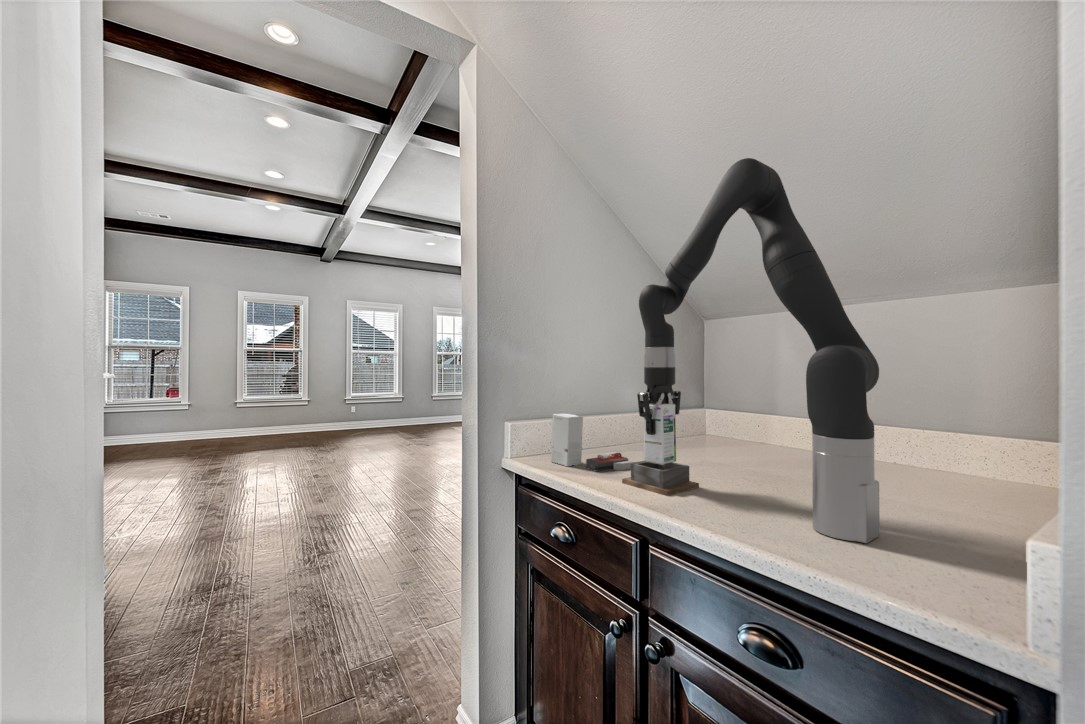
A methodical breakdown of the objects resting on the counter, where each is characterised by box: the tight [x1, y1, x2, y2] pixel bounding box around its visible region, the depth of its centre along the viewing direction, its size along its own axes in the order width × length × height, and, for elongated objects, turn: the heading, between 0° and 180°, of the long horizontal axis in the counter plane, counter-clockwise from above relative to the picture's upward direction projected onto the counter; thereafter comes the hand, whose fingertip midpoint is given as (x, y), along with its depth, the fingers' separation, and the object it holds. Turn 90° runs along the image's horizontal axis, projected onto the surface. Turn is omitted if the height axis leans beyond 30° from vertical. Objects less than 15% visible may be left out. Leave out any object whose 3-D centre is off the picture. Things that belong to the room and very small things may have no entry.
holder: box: [621, 460, 700, 496], centre depth 112 cm, size 14×12×5 cm
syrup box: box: [642, 403, 677, 465], centre depth 112 cm, size 6×6×14 cm
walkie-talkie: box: [585, 451, 644, 473], centre depth 132 cm, size 9×4×20 cm
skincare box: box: [550, 413, 584, 467], centre depth 137 cm, size 8×6×15 cm
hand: (659, 433), depth 112 cm, fingers closed on syrup box, 6 cm apart
